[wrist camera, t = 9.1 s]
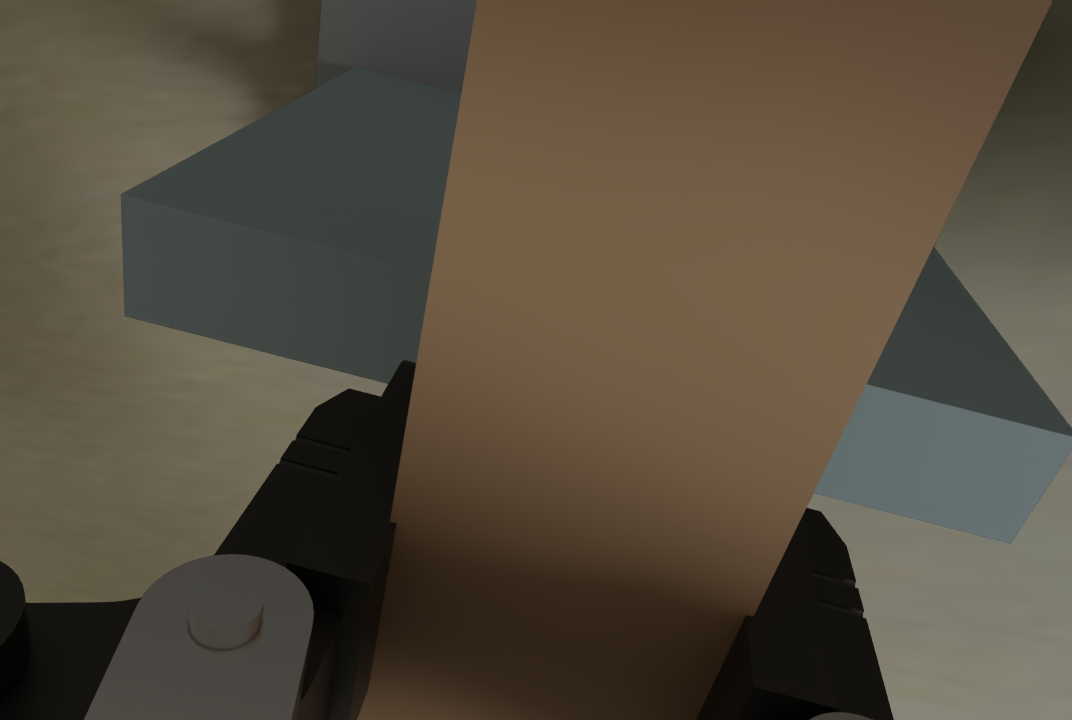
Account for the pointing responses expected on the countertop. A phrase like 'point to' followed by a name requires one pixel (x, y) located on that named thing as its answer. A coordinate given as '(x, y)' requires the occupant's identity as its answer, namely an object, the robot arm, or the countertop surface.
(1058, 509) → the countertop surface
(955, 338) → the stand
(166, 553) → the countertop surface
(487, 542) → the light wood bar
